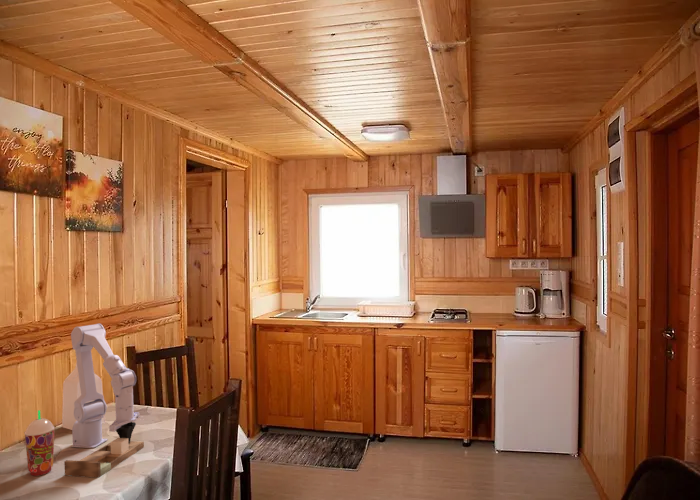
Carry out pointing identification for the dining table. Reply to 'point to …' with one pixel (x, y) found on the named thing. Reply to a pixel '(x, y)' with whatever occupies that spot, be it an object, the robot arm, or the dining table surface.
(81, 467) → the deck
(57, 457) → the dining table surface
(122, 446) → the block
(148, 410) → the dining table surface
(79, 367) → the robot arm
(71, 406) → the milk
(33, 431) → the smoothie
